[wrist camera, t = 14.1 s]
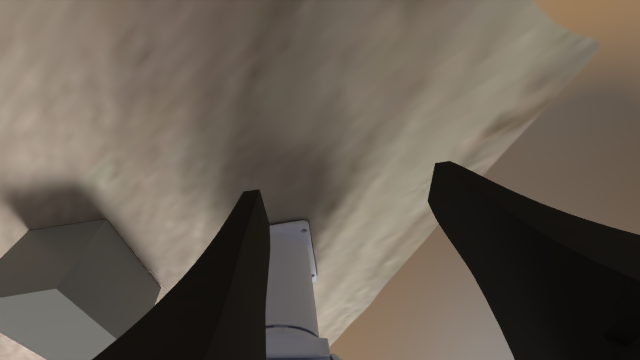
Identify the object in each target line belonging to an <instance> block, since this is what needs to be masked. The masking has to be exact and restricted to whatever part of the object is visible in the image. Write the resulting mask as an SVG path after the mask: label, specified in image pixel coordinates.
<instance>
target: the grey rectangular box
mask: <svg viewBox="0 0 640 360" xmlns="http://www.w3.org/2000/svg"><path fill="white" fill-rule="evenodd" d="M160 289H161V288H160V286H159V285H158V284H157V283H156V281H155V280H154V279H153V278H152V276H151V275H150V274H149V272H148V271H147V270H146V269H145V267H144V266H143V265H142V264H141V262H140V261H139V260H138V258H137V257H136V256H135V255H134V253H133V252H132V251H131V249H130V248H129V247H128V246H127V244H126V243H125V242H124V241H123V239H122V238H121V237H120V235H119V234H118V233H117V232H116V230H115V229H114V228H113V227H112V225H111V224H110V223H109V221H108V220H107V219H102V220H96V221H89V222H83V223H76V224H69V225H63V226H56V227H49V228H43V229H36V230H29V231H28V232H27V233H26V234H25V235H24V236H23V237H22V238H21V239H20V240H19V241H18V242H17V243H16V244H15V245H14V246H13V247H12V248H11V249H10V250H9V251H8V252H7V253H6V254H5V255H4V256H3V257H2V258H1V259H0V333H2V334H4V335H5V336H7V337H9V338H11V339H12V340H14V341H16V342H17V343H19V344H21V345H23V346H24V347H26V348H28V349H30V350H31V351H33V352H35V353H36V354H38V355H40V356H42V357H43V358H45V359H47V360H92V359H93V358H94V357H96V356H97V355H98V354H99V353H101V352H102V351H103V350H104V349H106V348H107V347H108V346H109V345H110V344H112V343H113V342H114V341H115V340H117V339H118V338H119V337H120V336H121V335H123V334H124V333H125V332H126V331H127V330H128V329H130V328H131V327H132V326H133V325H134V324H135V323H136V322H138V321H139V320H140V319H141V318H142V317H143V316H144V315H145V314H146V313H147V312H149V311H150V310H151V309H152V308H153V307H154V305H155V302H156V300H157V297H158V295H159V292H160Z"/></svg>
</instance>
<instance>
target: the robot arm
mask: <svg viewBox="0 0 640 360" xmlns="http://www.w3.org/2000/svg"><path fill="white" fill-rule="evenodd" d="M428 203H429V205H430V207H431V209H432V212H433V214H434V216H435V218H436V220H437V222H438V223H439V225H440V226H441V227H442V229H443V231H444V232H445V234H446V235H447V237H448V238H449V239H450V241H451V243H452V244H453V245H454V247H455V248H456V250H457V251H458V253H459V254H460V256H461V257H462V259H463V260H464V261H465V263H466V264H467V266H468V268H469V269H470V271H471V272H472V274H473V276H474V277H475V279H476V281H477V283H478V285H479V287H480V289H481V290H482V292H483V294H484V296H485V298H486V300H487V302H488V304H489V306H490V308H491V310H492V312H493V314H494V316H495V318H496V319H497V322H498V324H499V326H500V328H501V330H502V332H503V335H504V337H505V339H506V341H507V343H508V345H509V348H510V350H511V352H512V354H513V356H514V359H515V360H640V235H638V234H634V233H630V232H626V231H623V230H619V229H616V228H612V227H609V226H606V225H602V224H599V223H596V222H592V221H589V220H586V219H583V218H580V217H577V216H574V215H571V214H568V213H565V212H562V211H560V210H557V209H555V208H552V207H549V206H546V205H544V204H541V203H539V202H537V201H534V200H532V199H529V198H527V197H525V196H523V195H520V194H518V193H515V192H513V191H511V190H509V189H507V188H505V187H503V186H501V185H499V184H496V183H494V182H492V181H490V180H488V179H486V178H484V177H482V176H480V175H478V174H476V173H474V172H472V171H470V170H468V169H466V168H464V167H462V166H460V165H458V164H455V163H453V162H451V161H447V162H440V163H435V167H434V172H433V177H432V182H431V187H430V192H429V197H428ZM302 229H305V230H302ZM316 282H317V274H316V268H315V261H314V255H313V249H312V242H311V236H310V230H309V224H308V222H307V221H305V220H302V221H295V222H289V223H283V224H276V225H269V222H268V218H267V215H266V211H265V207H264V204H263V200H262V197H261V193H260V190H252V191H245V192H243V194H242V195H241V197H240V198H239V200H238V202H237V203H236V205H235V207H234V209H233V210H232V212H231V213H230V215H229V217H228V218H227V220H226V221H225V223H224V224H223V226H222V227H221V229H220V231H219V232H218V233H217V235H216V236H215V238H214V239H213V240H212V242H211V243H210V244H209V246H208V247H207V249H206V250H205V251H204V253H203V254H202V255H201V256H200V258H199V259H198V260H197V261H196V263H195V264H194V265H193V266H192V267H191V268H190V270H189V271H188V272H187V273H186V274H185V275H184V276H183V278H182V279H181V280H180V281H179V282H178V283H177V284H176V285H175V286H174V287H173V288H172V289H171V290H170V291H169V292H168V293H167V294H166V295H165V296H164V297H163V298H162V299H161V300H160V301H159V302H158V303H157V304H156V305H155V306H154V307H153V308H152V309H151V310H150V311H149V312H147V313H146V314H145V315H144V316H143V317H142V318H141V319H140V320H139V321H138V322H136V323H135V324H134V325H133V326H132V327H131V328H130V329H128V330H127V331H126V332H125V333H124V334H123V335H121V336H120V337H119V338H118V339H117V340H115V341H114V342H113V343H112V344H110V345H109V346H108V347H107V348H106V349H104V350H103V351H102V352H101V353H99V354H98V355H97V356H96V357H94V358H93V359H92V360H341V359H340V357H339V356H338V355H336V354H330V351H329V345H328V339H327V338H319V332H318V324H317V316H316V307H315V299H314V291H313V283H316Z"/></svg>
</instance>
